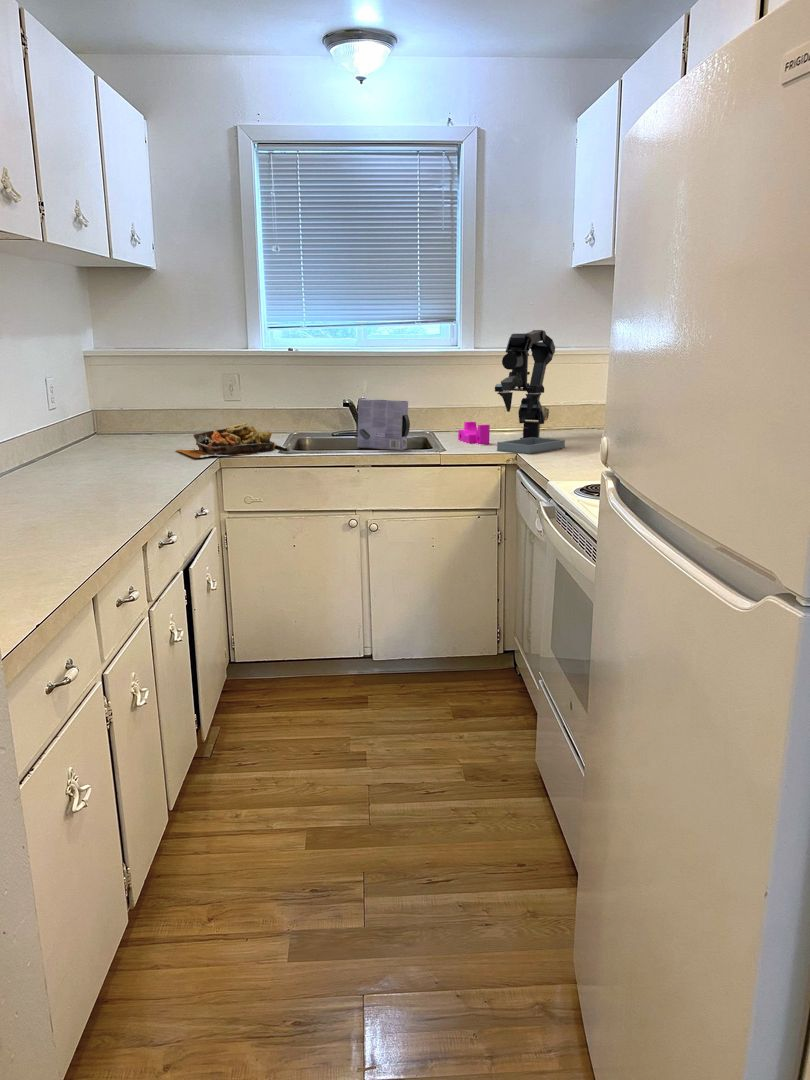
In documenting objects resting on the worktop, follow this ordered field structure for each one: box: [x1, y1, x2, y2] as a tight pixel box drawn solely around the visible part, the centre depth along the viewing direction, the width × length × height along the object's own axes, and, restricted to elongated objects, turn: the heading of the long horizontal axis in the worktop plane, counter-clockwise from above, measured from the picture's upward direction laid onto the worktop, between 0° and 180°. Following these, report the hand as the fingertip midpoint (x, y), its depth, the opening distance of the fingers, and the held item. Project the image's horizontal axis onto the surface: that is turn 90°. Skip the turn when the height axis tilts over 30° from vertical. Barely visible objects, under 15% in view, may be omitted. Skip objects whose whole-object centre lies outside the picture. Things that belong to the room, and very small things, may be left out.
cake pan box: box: [357, 398, 411, 451], centre depth 287 cm, size 19×5×18 cm, turn 65°
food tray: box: [175, 422, 292, 459], centre depth 285 cm, size 35×26×11 cm
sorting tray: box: [496, 437, 566, 455], centre depth 284 cm, size 21×14×3 cm, turn 135°
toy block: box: [457, 421, 491, 445], centre depth 305 cm, size 15×6×8 cm, turn 19°
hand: (518, 412), depth 295 cm, fingers open, 9 cm apart
